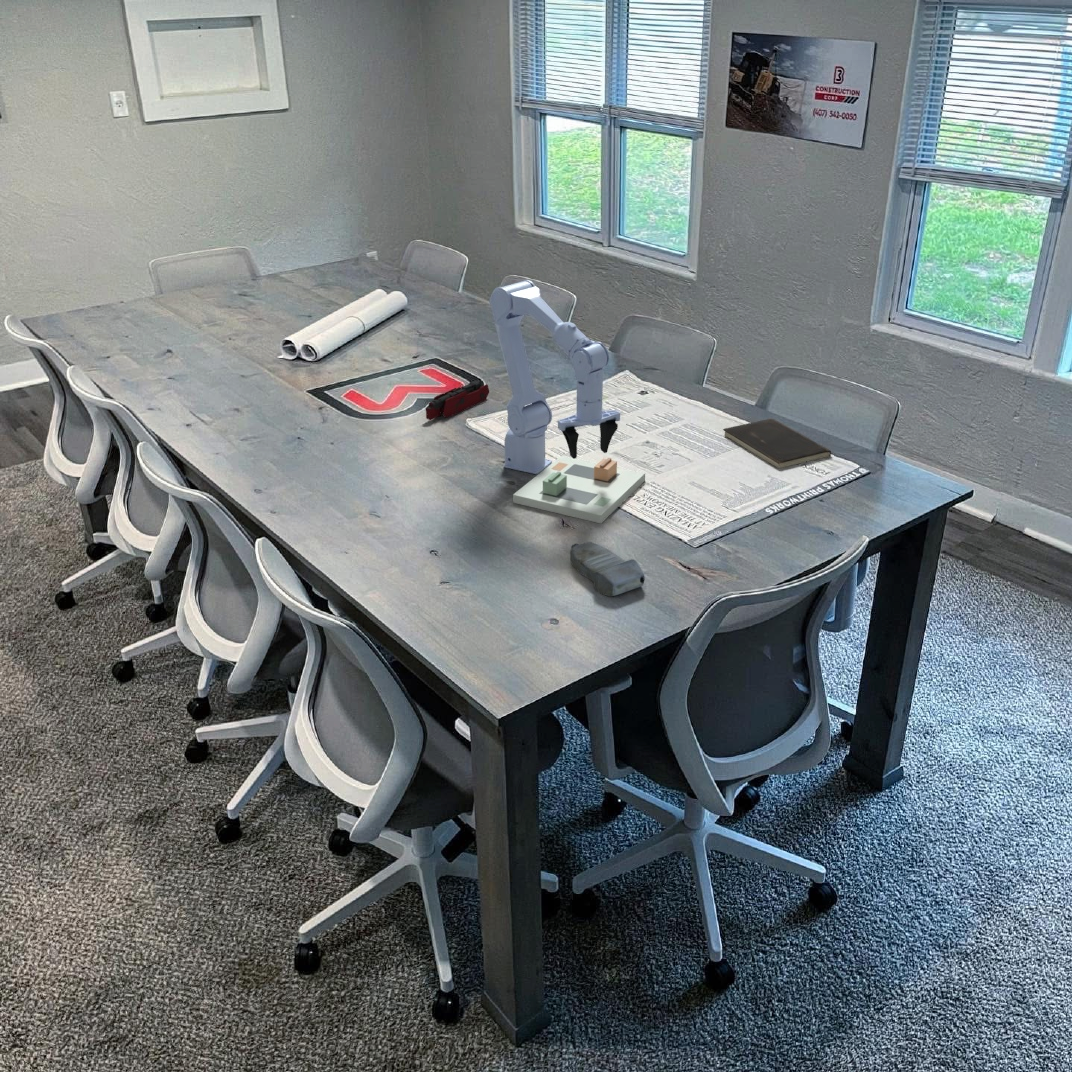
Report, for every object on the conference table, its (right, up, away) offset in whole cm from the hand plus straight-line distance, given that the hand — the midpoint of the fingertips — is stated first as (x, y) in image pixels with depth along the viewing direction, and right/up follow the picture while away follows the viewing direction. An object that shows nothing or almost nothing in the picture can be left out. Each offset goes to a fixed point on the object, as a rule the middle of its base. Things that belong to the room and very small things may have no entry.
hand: (588, 454), depth 240 cm
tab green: (-8, -8, 0) cm, 11 cm away
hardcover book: (+48, +3, +26) cm, 55 cm away
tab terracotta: (+4, -5, +6) cm, 9 cm away
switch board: (-2, -8, +4) cm, 9 cm away
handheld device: (+1, -27, -28) cm, 39 cm away
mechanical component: (-34, +16, +50) cm, 62 cm away
